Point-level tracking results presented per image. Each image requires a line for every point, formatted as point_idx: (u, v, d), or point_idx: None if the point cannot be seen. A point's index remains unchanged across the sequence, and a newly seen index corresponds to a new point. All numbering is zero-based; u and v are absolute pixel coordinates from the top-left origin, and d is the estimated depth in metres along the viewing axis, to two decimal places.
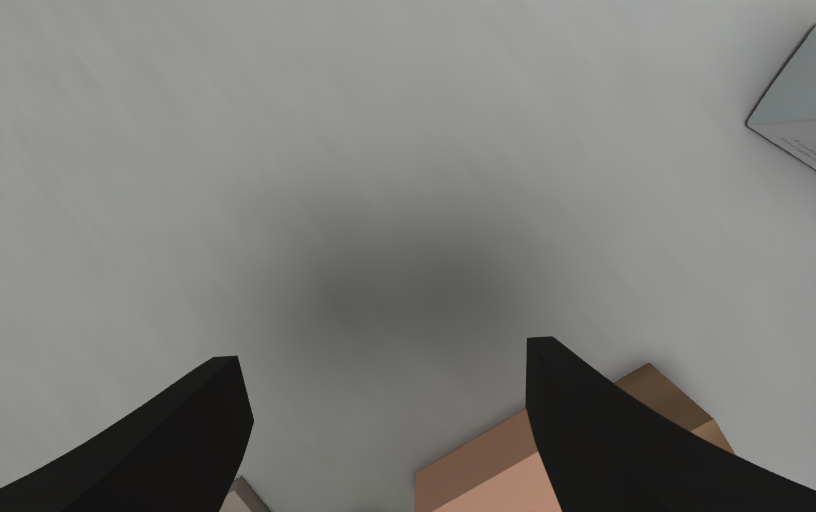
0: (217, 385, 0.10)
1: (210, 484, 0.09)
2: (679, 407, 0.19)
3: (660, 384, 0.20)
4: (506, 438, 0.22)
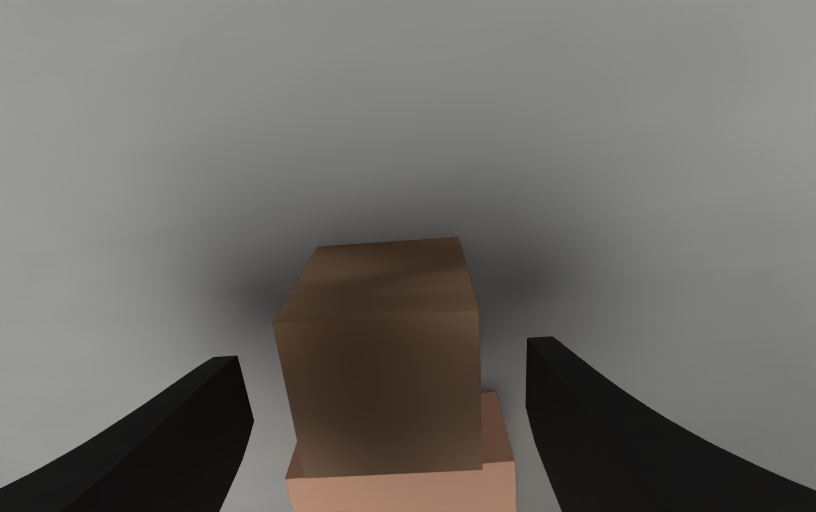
0: (217, 385, 0.10)
1: (210, 484, 0.09)
2: None
3: None
4: None
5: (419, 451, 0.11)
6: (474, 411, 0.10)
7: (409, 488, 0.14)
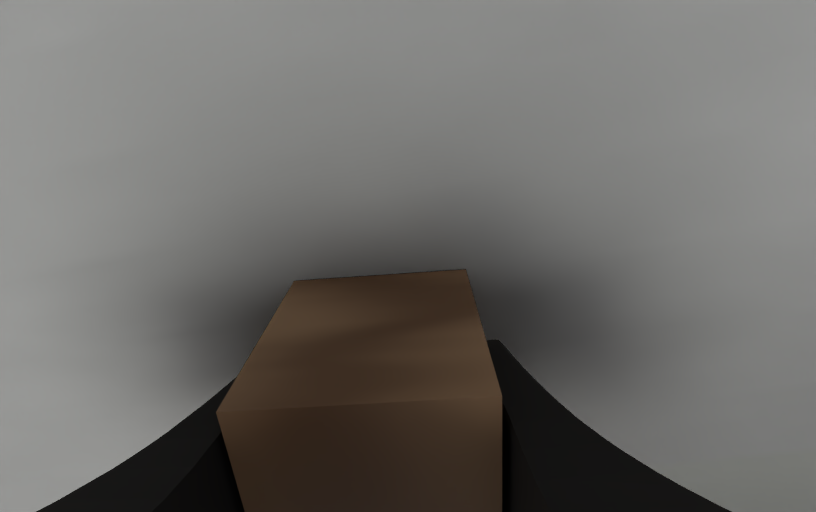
0: None
1: None
2: None
3: None
4: None
5: None
6: None
7: None
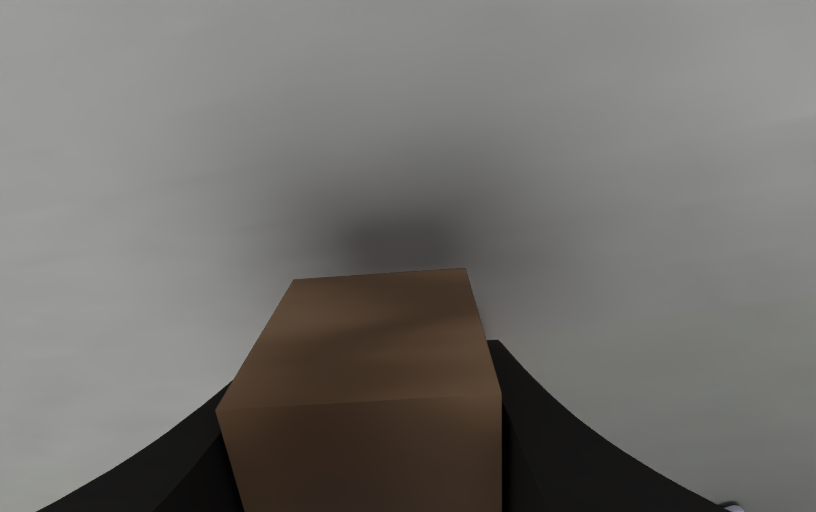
0: None
1: None
2: None
3: None
4: None
5: None
6: None
7: None
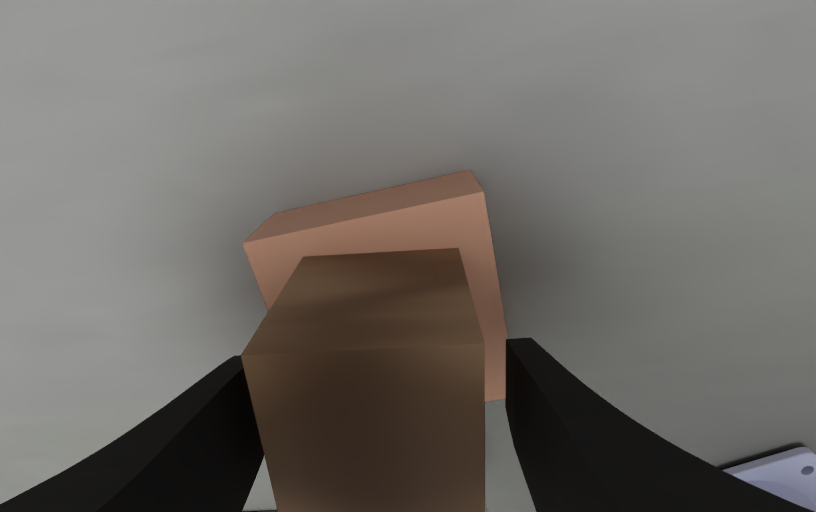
0: (240, 383, 0.10)
1: (234, 483, 0.09)
2: None
3: None
4: None
5: (412, 499, 0.10)
6: (476, 456, 0.09)
7: (375, 240, 0.13)
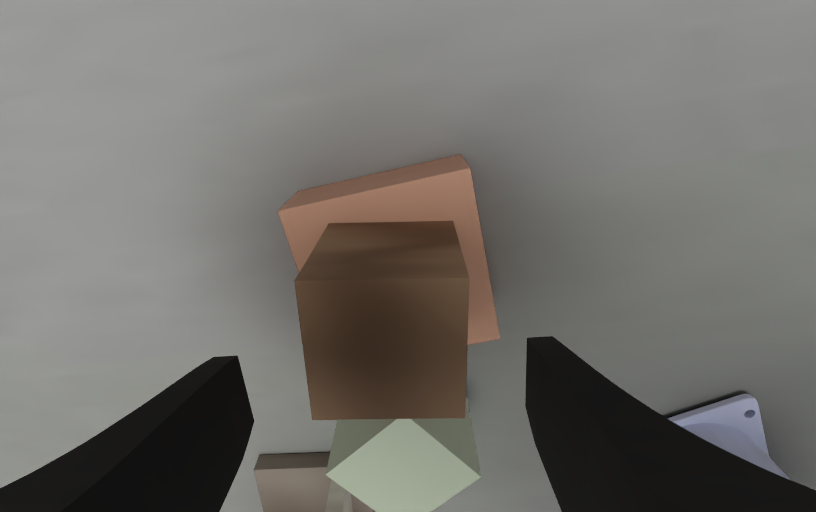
0: (217, 385, 0.10)
1: (210, 484, 0.09)
2: None
3: None
4: None
5: (412, 399, 0.13)
6: (461, 365, 0.12)
7: (384, 208, 0.16)
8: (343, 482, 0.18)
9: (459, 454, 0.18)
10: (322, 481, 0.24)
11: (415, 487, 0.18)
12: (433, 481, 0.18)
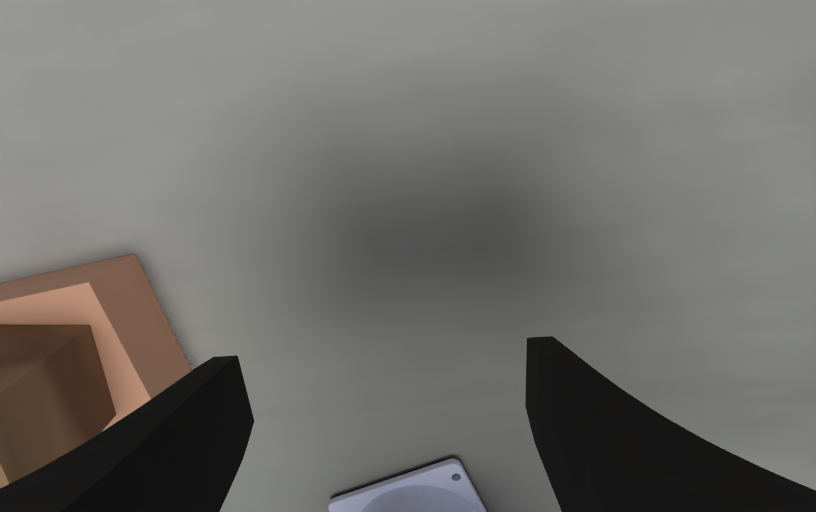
0: (217, 385, 0.10)
1: (211, 484, 0.09)
2: None
3: None
4: None
5: None
6: (1, 478, 0.14)
7: (22, 315, 0.18)
8: None
9: None
10: None
11: None
12: None
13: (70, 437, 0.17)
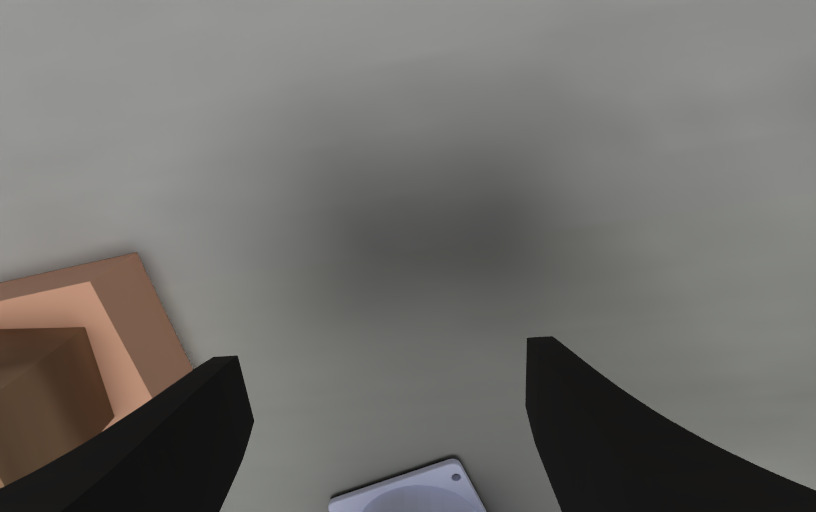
0: (217, 385, 0.10)
1: (211, 484, 0.09)
2: None
3: None
4: None
5: None
6: None
7: (24, 314, 0.18)
8: None
9: None
10: None
11: None
12: None
13: (67, 440, 0.17)
